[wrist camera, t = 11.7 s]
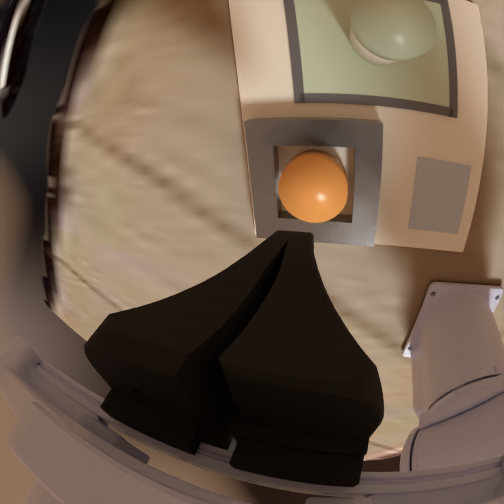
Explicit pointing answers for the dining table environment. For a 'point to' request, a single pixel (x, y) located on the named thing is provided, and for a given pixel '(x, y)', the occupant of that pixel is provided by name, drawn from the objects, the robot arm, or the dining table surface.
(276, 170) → the button base
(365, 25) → the marker
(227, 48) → the dining table surface
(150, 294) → the dining table surface
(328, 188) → the button
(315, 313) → the robot arm
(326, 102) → the picture board
